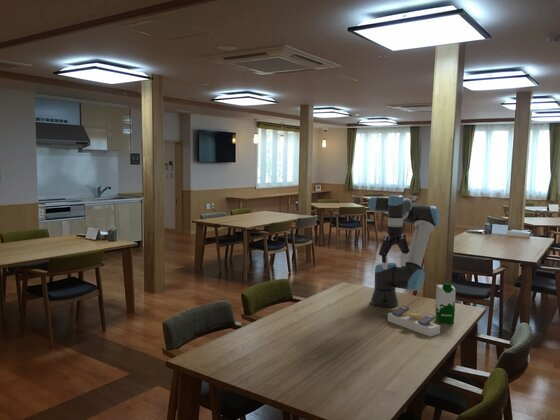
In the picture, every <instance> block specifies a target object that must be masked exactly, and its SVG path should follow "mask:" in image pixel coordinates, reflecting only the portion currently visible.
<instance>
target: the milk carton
mask: <svg viewBox="0 0 560 420" xmlns="http://www.w3.org/2000/svg"><path fill="white" fill-rule="evenodd" d="M435 292H436V293H435V294H436V295H435V316H436V320H437V322H438V324H446V325H449V324H451V325H452V324H455V323H454V321H455V316H456V315H455V311H456V288H455V286H453V284H452V283H451V282H443V283H442V284H436V291H435Z"/></svg>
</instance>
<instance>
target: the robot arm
mask: <svg viewBox="0 0 560 420" xmlns="http://www.w3.org/2000/svg"><path fill="white" fill-rule="evenodd" d="M368 209H369V210H370V211H374V212H380V213H384V214H386V215H387V225H388V226H387V234H388V236H387V235H385V236H383V241H382V243H381V246H380V250H379V252H378V255H379V256H381V263H377V264H376V265H375V268H374V291H373V293H372V295H371V298H370V303H371V305H372V306H375V307H380V308H395V307H397V306H399V299H398V297H397V292H396V289H402V290H408V291H419V290H420V289H421V288H422V287H423V285H424V282H425V278H426V276H425V275H426V273H425V271H424V268H423V267H422V264H423V260H424V256H425V254H426V253H425V252H426V250H427V249H426V248H427V246H428V245H427V244H428V241H429V239H430V234H431V232H432V231H434V229H435V227H439V225H440V222H441V221H440V220H441V215H440V210H439V208H438V207H437V206H435V205H419V204H413V202H412V199H410V198H407V197H404V195H398V194H394V195H393V194H391V195H389V196H388V197H384V196H381V197H380V196H372V197H370V198H369V200H368ZM404 223H406V224H410V225H413V226H414V231H413V236H412V237H411V243H410V245H409V244H408V242H407V241H408V240H407V235H406V234H403V232H404V231H403V229H404V227H403V225H404ZM394 245H397V246H398V248H399V250H400V251H401V252H400V266H397V263H395V262H389V260H388V259H389V257H388V254H389V252H390V250H391V248H392V246H394Z"/></svg>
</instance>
